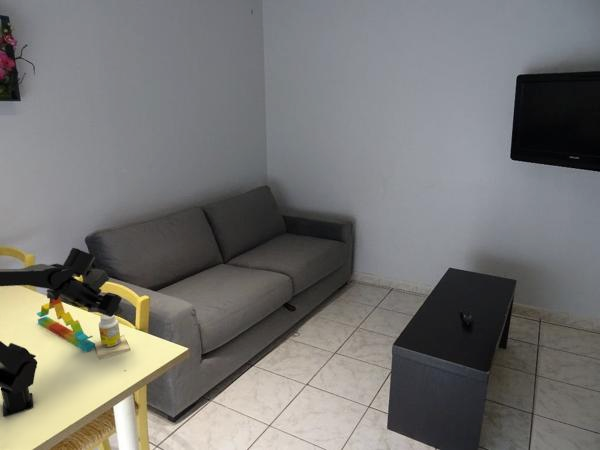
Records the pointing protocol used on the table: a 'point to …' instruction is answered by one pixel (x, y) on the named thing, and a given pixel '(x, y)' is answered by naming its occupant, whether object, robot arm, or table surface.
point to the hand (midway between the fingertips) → (111, 309)
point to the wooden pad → (110, 352)
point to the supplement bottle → (109, 332)
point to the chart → (71, 336)
